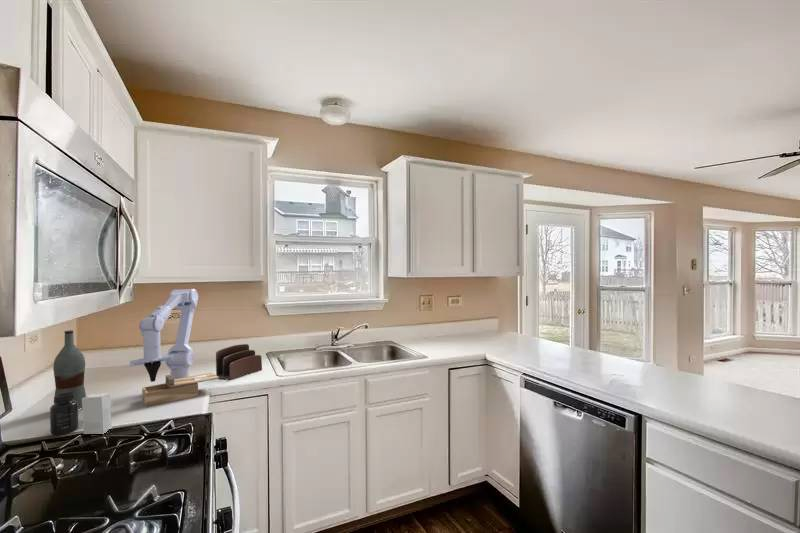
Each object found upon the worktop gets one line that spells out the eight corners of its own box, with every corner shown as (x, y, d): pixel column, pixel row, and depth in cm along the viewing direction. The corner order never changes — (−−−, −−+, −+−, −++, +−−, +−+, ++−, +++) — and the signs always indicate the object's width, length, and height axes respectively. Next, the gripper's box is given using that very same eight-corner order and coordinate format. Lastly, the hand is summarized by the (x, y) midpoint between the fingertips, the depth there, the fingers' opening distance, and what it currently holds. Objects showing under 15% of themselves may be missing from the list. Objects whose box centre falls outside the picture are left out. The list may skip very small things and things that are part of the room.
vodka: (46, 414, 138) (45, 333, 139) (67, 406, 147) (65, 329, 148) (73, 413, 139) (72, 332, 139) (92, 404, 148) (90, 328, 148)
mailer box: (142, 399, 152) (142, 387, 152) (192, 389, 163) (191, 378, 163) (146, 406, 143) (145, 393, 143) (198, 395, 155) (198, 383, 155)
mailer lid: (165, 382, 157) (165, 375, 157) (212, 373, 169) (211, 366, 169) (170, 388, 148) (170, 380, 149) (218, 378, 160) (218, 371, 160)
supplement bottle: (49, 431, 122) (49, 394, 122) (77, 425, 127) (76, 389, 127) (50, 438, 117) (50, 399, 117) (79, 431, 122) (78, 393, 122)
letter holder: (215, 378, 181) (215, 349, 181) (248, 368, 199) (247, 342, 199) (230, 380, 177) (229, 350, 177) (262, 370, 195) (261, 342, 195)
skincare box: (112, 429, 122) (111, 392, 122) (103, 435, 117) (102, 396, 118) (92, 431, 121) (91, 393, 122) (81, 437, 117) (81, 398, 117)
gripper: (130, 351, 142) (131, 387, 142) (174, 345, 151) (175, 379, 151) (129, 348, 147) (129, 383, 147) (171, 343, 157) (172, 375, 157)
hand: (152, 381), depth 149 cm, fingers closed
